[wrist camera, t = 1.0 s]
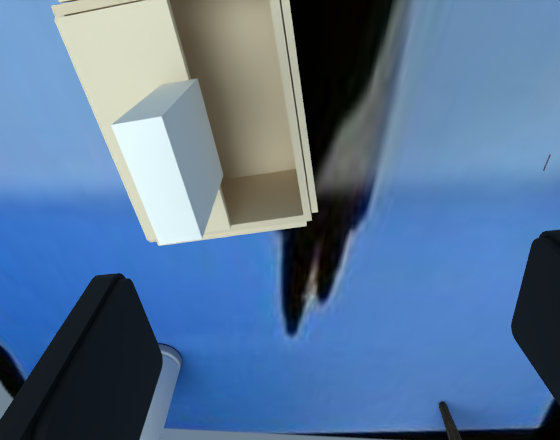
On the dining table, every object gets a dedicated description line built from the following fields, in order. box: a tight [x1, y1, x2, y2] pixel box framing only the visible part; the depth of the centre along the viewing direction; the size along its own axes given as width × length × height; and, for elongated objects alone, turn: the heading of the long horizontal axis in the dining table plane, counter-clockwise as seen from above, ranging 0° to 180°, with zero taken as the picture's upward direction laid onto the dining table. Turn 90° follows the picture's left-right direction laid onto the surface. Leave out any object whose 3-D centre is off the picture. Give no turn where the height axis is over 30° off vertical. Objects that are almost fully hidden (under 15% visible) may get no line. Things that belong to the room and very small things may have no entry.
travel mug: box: [140, 344, 182, 440], centre depth 47 cm, size 6×7×20 cm
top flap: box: [54, 0, 231, 245], centre depth 24 cm, size 8×17×9 cm, turn 9°
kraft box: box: [51, 0, 318, 246], centre depth 32 cm, size 15×19×10 cm
